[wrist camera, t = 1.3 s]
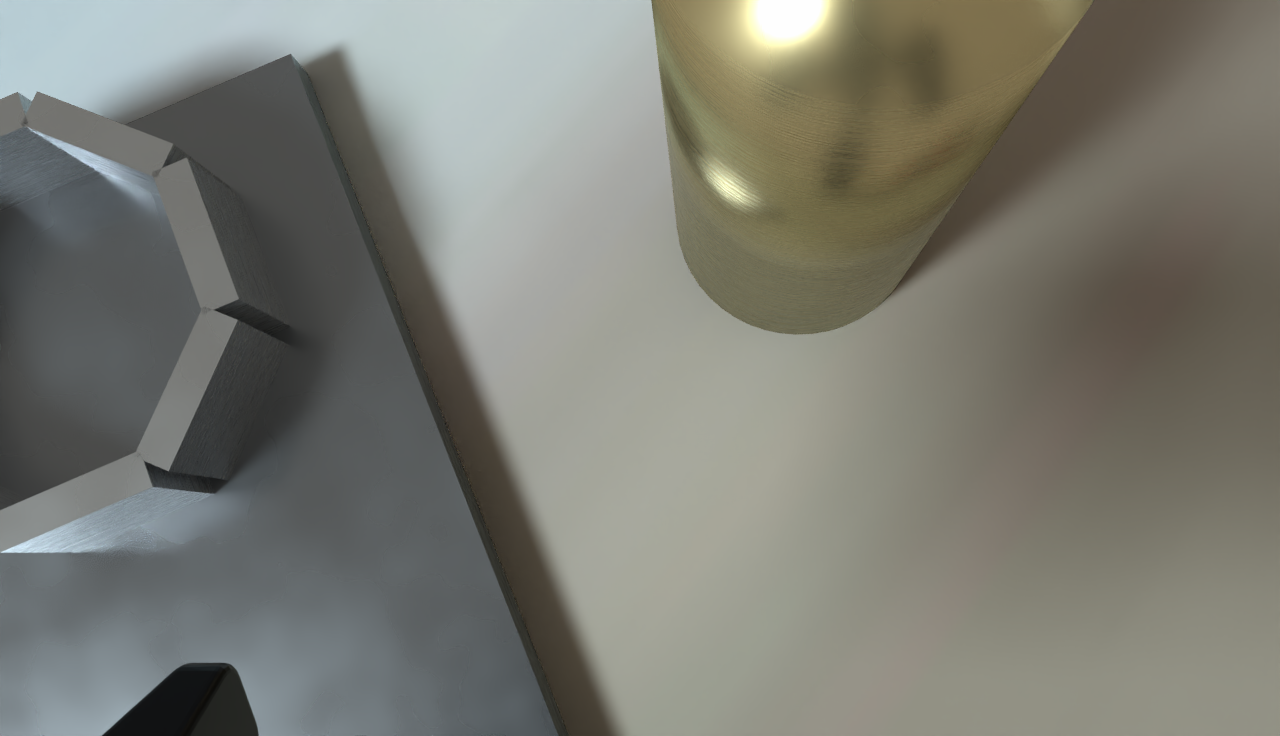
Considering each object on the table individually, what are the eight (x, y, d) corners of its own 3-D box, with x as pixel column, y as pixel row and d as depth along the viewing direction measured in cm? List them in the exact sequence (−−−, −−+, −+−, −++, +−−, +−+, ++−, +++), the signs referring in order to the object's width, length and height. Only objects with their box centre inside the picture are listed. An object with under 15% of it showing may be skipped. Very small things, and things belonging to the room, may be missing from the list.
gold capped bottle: (964, 175, 23) (1295, -321, 10) (840, 379, 23) (1017, 142, 10) (756, 60, 24) (809, -547, 11) (631, 255, 24) (525, -129, 10)
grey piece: (588, 785, 22) (564, 829, 18) (16, 1032, 22) (-115, 1123, 18) (307, 73, 25) (241, -4, 21) (-202, 291, 25) (-351, 249, 21)
